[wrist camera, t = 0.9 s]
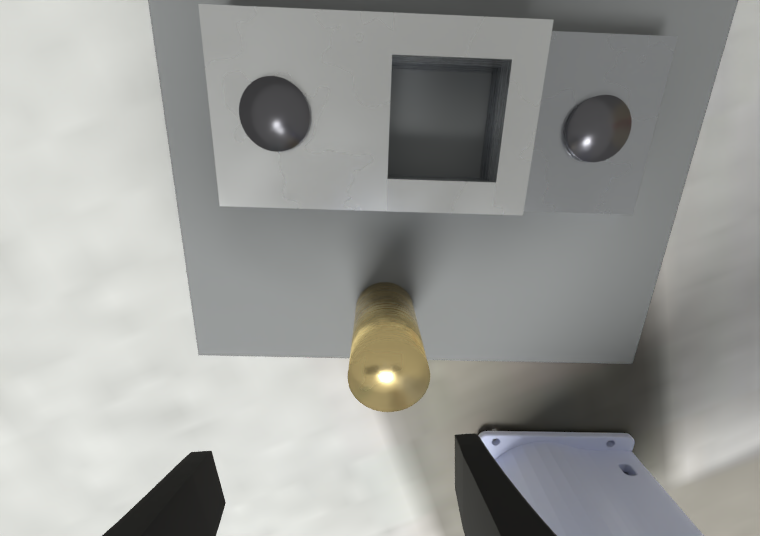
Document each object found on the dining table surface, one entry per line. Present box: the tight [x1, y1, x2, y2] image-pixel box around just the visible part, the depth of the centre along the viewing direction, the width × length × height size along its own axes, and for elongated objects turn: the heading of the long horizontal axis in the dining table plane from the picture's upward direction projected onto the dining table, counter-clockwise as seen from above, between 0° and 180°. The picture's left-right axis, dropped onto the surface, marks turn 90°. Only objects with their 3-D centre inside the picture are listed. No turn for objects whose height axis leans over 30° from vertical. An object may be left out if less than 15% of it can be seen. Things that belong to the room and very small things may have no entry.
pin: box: [348, 282, 430, 412], centre depth 16 cm, size 3×3×6 cm
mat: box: [148, 0, 738, 364], centre depth 17 cm, size 24×18×1 cm
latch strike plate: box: [198, 4, 678, 215], centre depth 15 cm, size 18×7×3 cm, turn 88°
